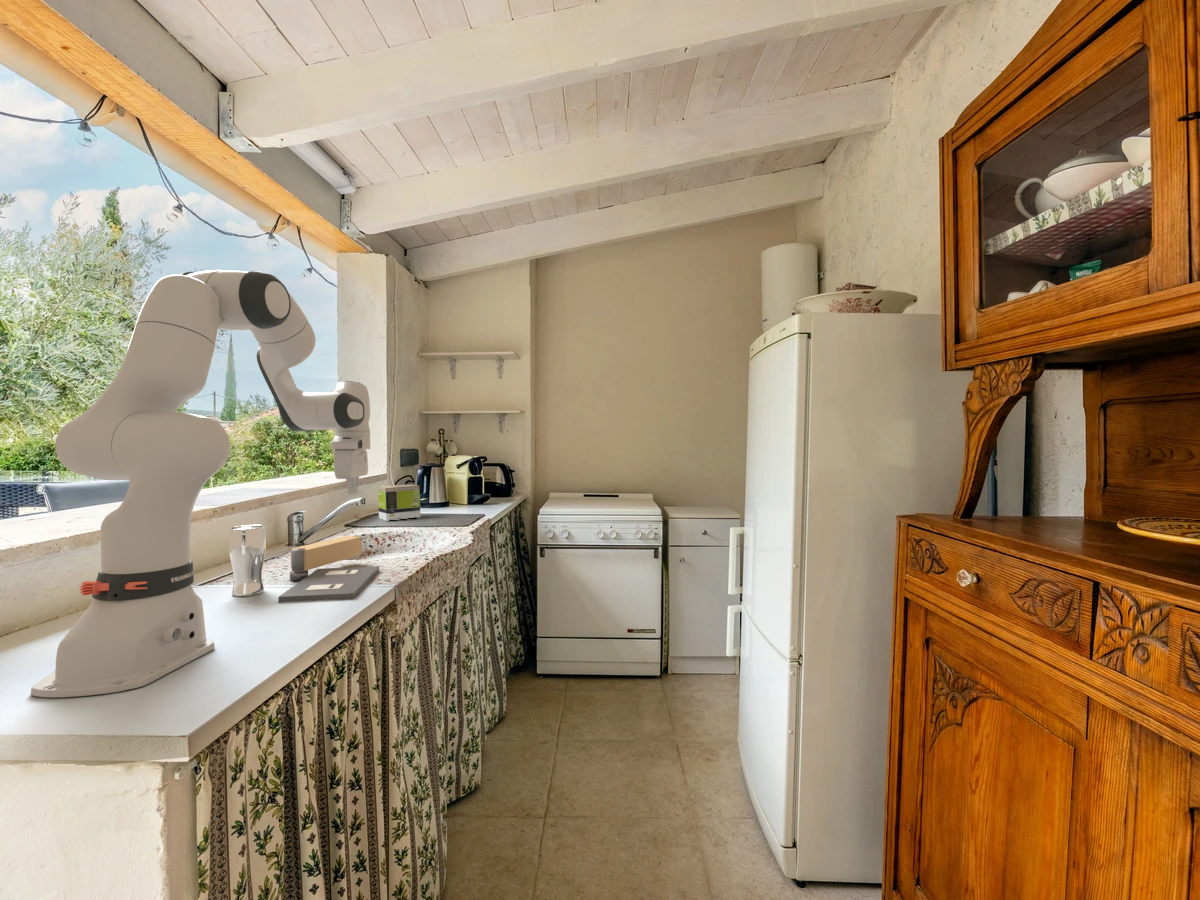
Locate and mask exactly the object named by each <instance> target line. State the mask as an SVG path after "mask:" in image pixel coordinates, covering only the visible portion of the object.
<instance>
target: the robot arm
mask: <svg viewBox="0 0 1200 900" xmlns="http://www.w3.org/2000/svg"><path fill="white" fill-rule="evenodd" d="M219 330H224V331H225V330H228V331H247V330H250V332H251V333H252V335H253V337H254V338H255V340H256V341H257V342H258V345H259V347H258V349H257V350H256V361H257V364H258V367H259V370H260V372H261V374H262V376H263V378H264V381H265V383H266V385H267V386H268V389H269V391H270V393H271V394H272V397H273V399H274V401H275V403H276V405H277V409H278V413H279V416H280V419H281V421H282V422H283V423H284V425H286V427H287V428H288V429H290V430H292V431H293V432H306V431H330V430H334V436H333V439H332V440H331V442H330V449H331V450H333V455H332V456H333V457H332V458H333V459H332V460H333V471H334V472H333V473H334V476H335V479H337V480H345V482H346V487H347V494H348V495H356V494H358V493H359V490H358V489H359V483H360V477H362V476H367V475H368V472H369V458H368V457H369V456H368V451H367V450H370V449H371V429H370V424H369V423H370V418H371V404H370V403H371V402H370V396H369V395H370V394H369V389H368V387H367V386H366V385H364V384H363V383H360V382H356V381H352V380H351V381H350V380H349V381H348V380H344V381H339V382H338V383H337V384H336V387H335V389H333V390H330V391H316V392H315V391H305V390H301V389H299V388H298V387H297V385H296V383H295V380H294V378H293V376H292V374H291V372H290V368H294V367H296V366H299V365H300V364H302V363H303V362H304V361H306V360H307V359H308V358H309V357H310V356H311V354H312V353H313V351H314V348H315V347H316V335H315V332H314V329H313V327H312V325H311V323H310V322H309V320H308V319H307V317H306V315H305V313H304V312H303V310H302V309H301V306H300V305H299V304H298V302H297V301H296V300H295V299H294V298H293V296H292V294H290V292H289V291H288V289H287V287H286V286H285V285H284V283H283V282H282V281H281V280H279V278H278V277H276V276H275V275H273V274H271V273H268V272H263V271H259V270H258V271H257V270H251V271H242V270H225V269H213V270H203V271H196V272H195V271H186V272H182V273H179V274H170V275H166V276H163V277H161V278H159V280H157V281H156V283H154V286H153V287H152V288H151V289H150V291H149V293H148V295H147V297H146V298H145V301H144V302H143V305H142V307H141V309H140V312H139V314H138V317H137V319H136V323H135V326H134V329H133V332H132V335H131V338H130V341H129V344H128V348H127V349H126V353H125V356H124V358H123V361H122V364H121V365H120V368H119V370H118V372H117V373H116V375H115V376H114V378H113V380H112V381H111V382H110V384H109V385H108V386H107V388H106V389H105V390H104V392H103V393H102V394H101V395H100V396H99V397H98V399H97V400H96V401H95V402H94V403H93V404H92V405H91V406H90V407H89V408H88V409H87V410H86V411H85V412H84V413H82V414H81V415H79V416H78V417H75V418H74V419H72V420H70V421H68V422H67V423H66V424H65V425H63V427H62V428H61V429H60V430H59V432H58V434H57V436H56V440H55V452H56V456H57V458H58V460H59V461H60V463H61V464H62V466H64V467H65V468H66V469H67V470H68V471H70V472H72V473H75V474H79V475H81V476H86V477H89V478H94V479H98V480H103V481H129V483H128V488H127V490H126V491H127V492H126V495H125V497H124V498H123V500H122V502H121V504H120V506H119V507H118V508H116V509H115V510H113V511H111V512H110V513H108V514H107V515H106V516H105V517H104V518H103V521H102V523H101V525H100V558H101V559H100V560H101V561H100V563H101V567H100V569H101V570H100V571H99V572H98V573H97V577H96V580H95V581H89V580H86V581H83V582H82V583H81V585H80V586H79V593H80V594H81V595H82V596H89V595H91V598H93V600H92V601H91V603H90V605H89V606H88V608H87V609H86V610H84V612H83V614H82V615H81V616H80V617H79V618H78V620H77V621H76V622H75V623H74V625H72V627H71V628H70V630H69V631H68V632H67V633H66V635H65V636H64V637H63V638H62V639H61V641H60V642H59V643H58V645H57V646H58V647H57V650H56V655H55V656H56V657H55V670H53V671H52V672H51V673H49V674H48V675H47V676H45V677H44V678H43V679H41V680H40V681H38V682H37V683H35V684H34V685H33V686H31V688H30V695H31V696H34V697H38V698H70V697H86V696H94V695H95V696H96V695H102V694H103V695H104V694H105V695H106V694H111V693H116V692H123V691H127V690H133V689H136V688H140V687H144V686H146V685H149V684H151V683H152V682H154V681H156V680H157V679H160V678H162V677H163V676H165V675H168V674H169V673H171V672H173V671H175V670H176V669H179V668H181V667H182V666H185V665H186V664H188V663H190V662H192V661H193V660H195V659H197V658H199V657H201V656H203V655H205V654H206V653H208V652H211V651H212V650H214V649H215V642H214V641H213V640H211V639H207V633H206V624H205V615H204V614H205V612H204V607H203V606H204V605H203V600H202V598H201V597H200V596H199V595H198V594H197V593H196V592H195V590H194V589H193V587H192V584H193V583H194V582H195V577H194V576H195V575H194V574H195V568H194V563H193V562H194V561H191V555H190V554H191V551H190V550H191V547H190V546H191V524H192V523H191V521H192V515H193V511H194V506H195V504H196V501H197V499H198V497H199V495H200V492H201V491H202V489H203V487H204V486H205V485H206V483H207V482H208V481H209V480H210V479H211V478H212V477H213V476H214V475H215V474H217V473H218V472H220V471H221V470H222V468H223V467H224V466H225V464H226V463H227V461H228V459H229V456H230V451H231V443H230V437H229V436H228V432H227V431H226V429H225V428H224V426H223V425H222V424H221V423H220V422H218V421H217V420H216V419H213V418H210V417H207V416H203V415H198V414H193V413H189V412H184V411H183V412H182V411H178V410H179V408H180V407H181V406H182V405H184V404H185V403H186V402H187V401H189V400H190V399H193V398H194V397H195V396H197V395H198V394H200V393H201V391H202V390H203V389H204V387H205V386H206V383H207V380H208V377H209V371H210V368H211V364H212V360H213V356H214V352H215V350H216V349H215V348H216V344H217V339H218V333H219Z"/></svg>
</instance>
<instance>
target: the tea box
mask: <svg viewBox="0 0 1200 900" xmlns="http://www.w3.org/2000/svg"><path fill="white" fill-rule="evenodd" d="M377 490H378V491H377V492H378V493H377V495H378V519H379V518H380V519H383V520H386V521H388V522H390V521H389V520H398V519H406V518H413V517H419V516H420V517H421V492H420V490H421V489H420V485H418V484H400V485H399V484H397V485H386V486H385V485H384V486H383V485H381V486H378V489H377ZM380 519H379V520H380ZM386 521H385V522H386ZM398 521H399V520H398Z"/></svg>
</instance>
